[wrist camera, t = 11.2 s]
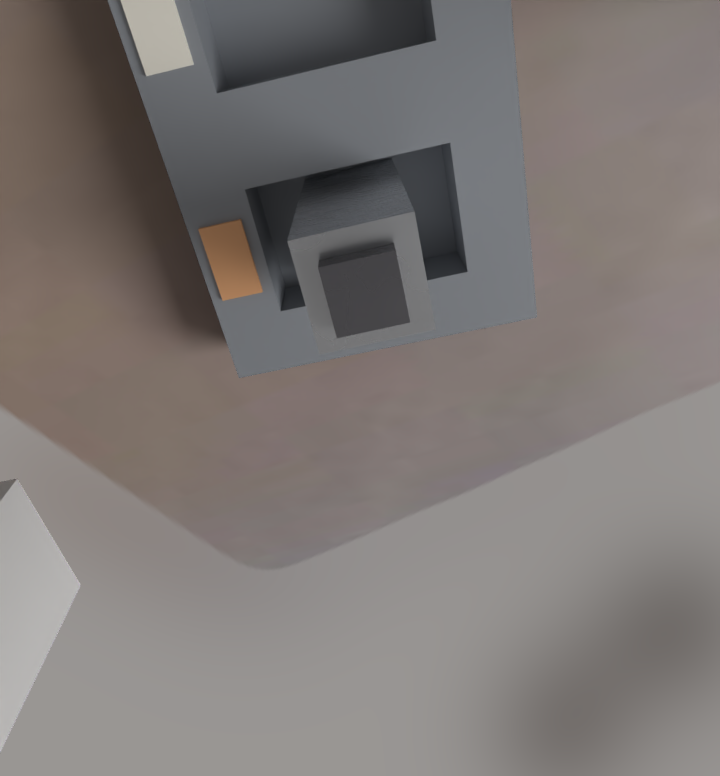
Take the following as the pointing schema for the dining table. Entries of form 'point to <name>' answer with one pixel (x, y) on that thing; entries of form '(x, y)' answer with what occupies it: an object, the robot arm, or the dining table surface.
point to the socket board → (337, 148)
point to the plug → (360, 258)
